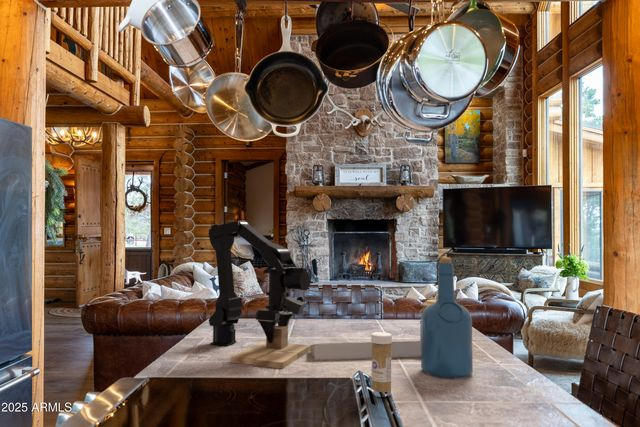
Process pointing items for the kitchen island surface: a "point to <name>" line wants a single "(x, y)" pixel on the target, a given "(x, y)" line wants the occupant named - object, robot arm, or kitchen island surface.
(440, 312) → the wine bottle
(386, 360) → the sprinkles bottle
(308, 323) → the kitchen island surface
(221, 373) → the kitchen island surface
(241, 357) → the plank
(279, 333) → the block
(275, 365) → the laid row
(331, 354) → the decorative molding
